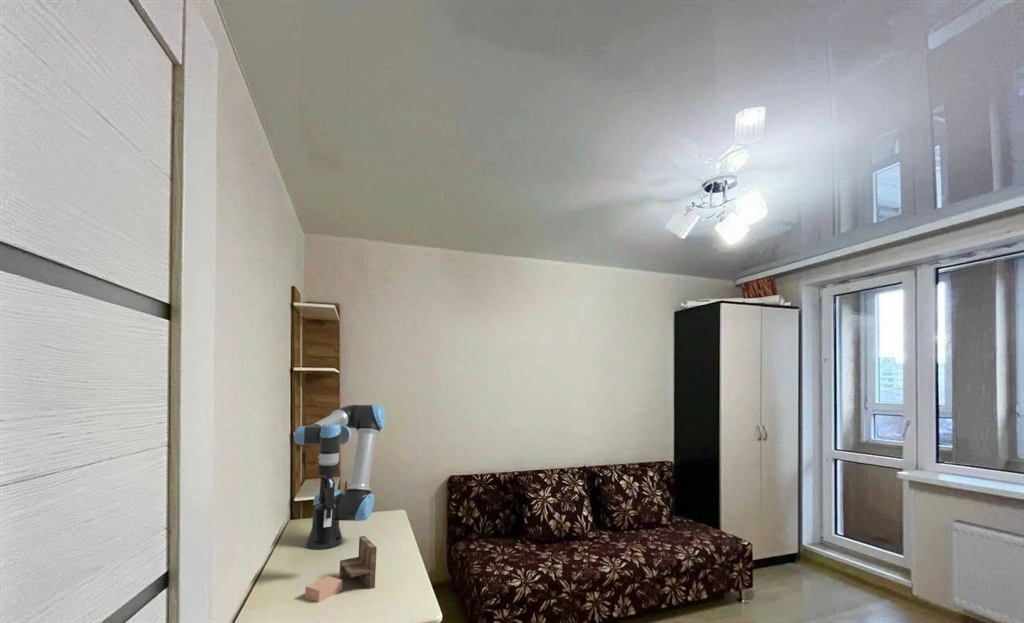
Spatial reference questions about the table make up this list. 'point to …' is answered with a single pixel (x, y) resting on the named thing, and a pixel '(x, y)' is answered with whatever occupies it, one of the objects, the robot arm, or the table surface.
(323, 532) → the drinking cup
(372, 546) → the desk shelf
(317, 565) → the table surface
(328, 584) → the pink rectangular block
